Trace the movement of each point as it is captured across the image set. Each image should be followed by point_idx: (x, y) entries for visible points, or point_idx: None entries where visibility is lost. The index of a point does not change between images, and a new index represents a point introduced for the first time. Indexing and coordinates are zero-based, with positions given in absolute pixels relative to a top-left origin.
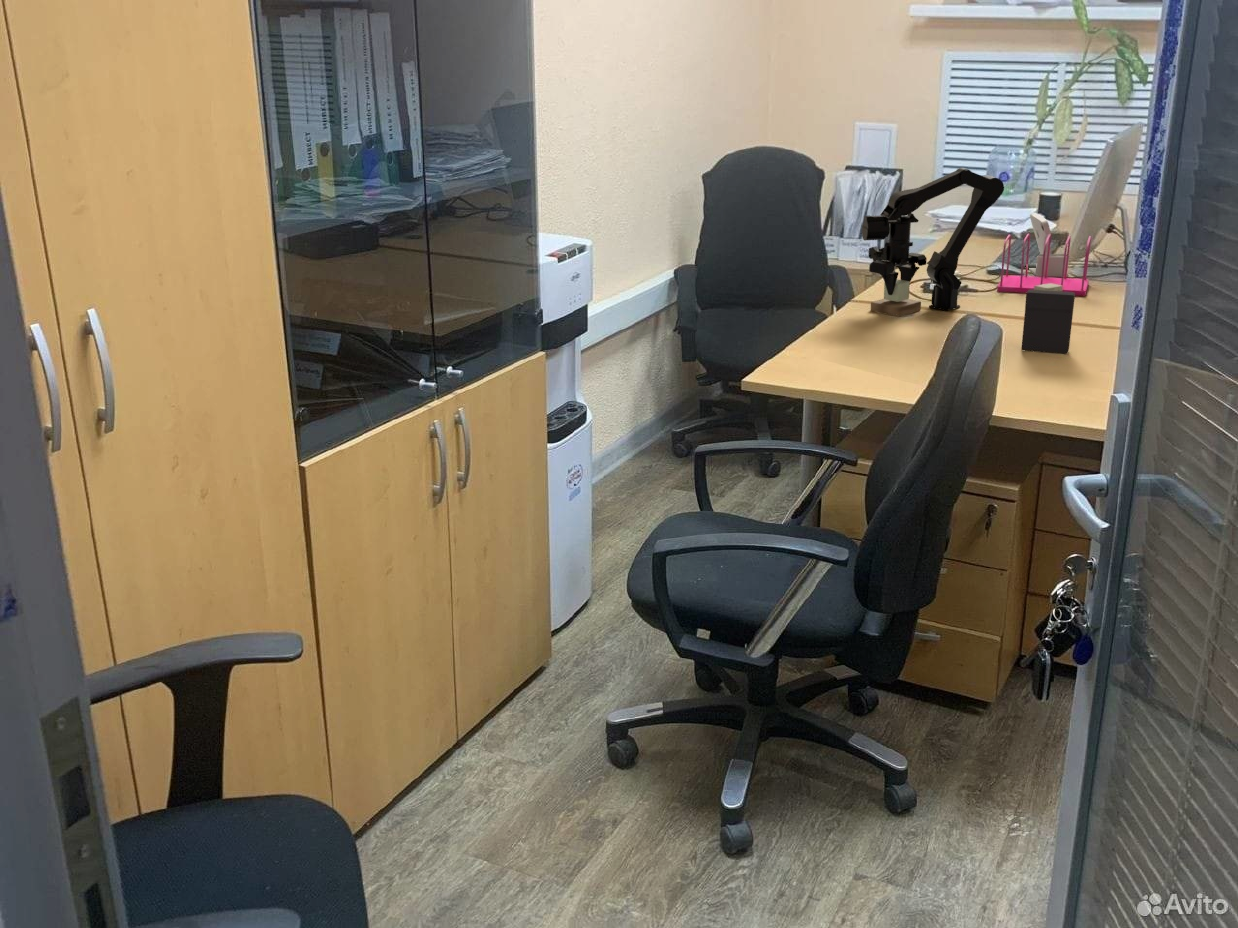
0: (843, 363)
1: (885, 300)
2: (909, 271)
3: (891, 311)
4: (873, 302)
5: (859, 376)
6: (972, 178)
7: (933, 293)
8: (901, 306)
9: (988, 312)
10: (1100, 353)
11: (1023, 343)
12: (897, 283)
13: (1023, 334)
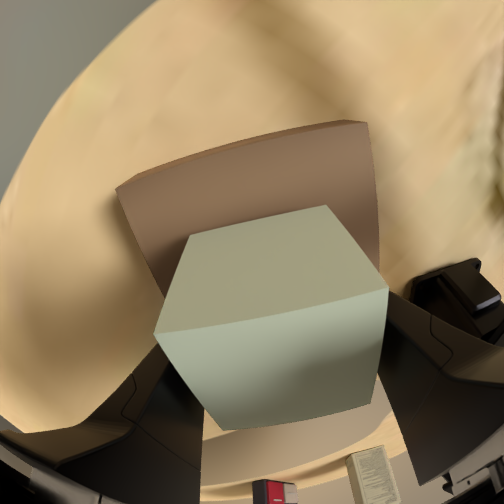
0: (24, 416)
1: (230, 200)
2: (422, 452)
3: None
4: (123, 207)
5: None
6: None
7: (460, 314)
8: None
9: None
10: (313, 484)
11: (253, 489)
12: (235, 417)
13: (253, 499)
